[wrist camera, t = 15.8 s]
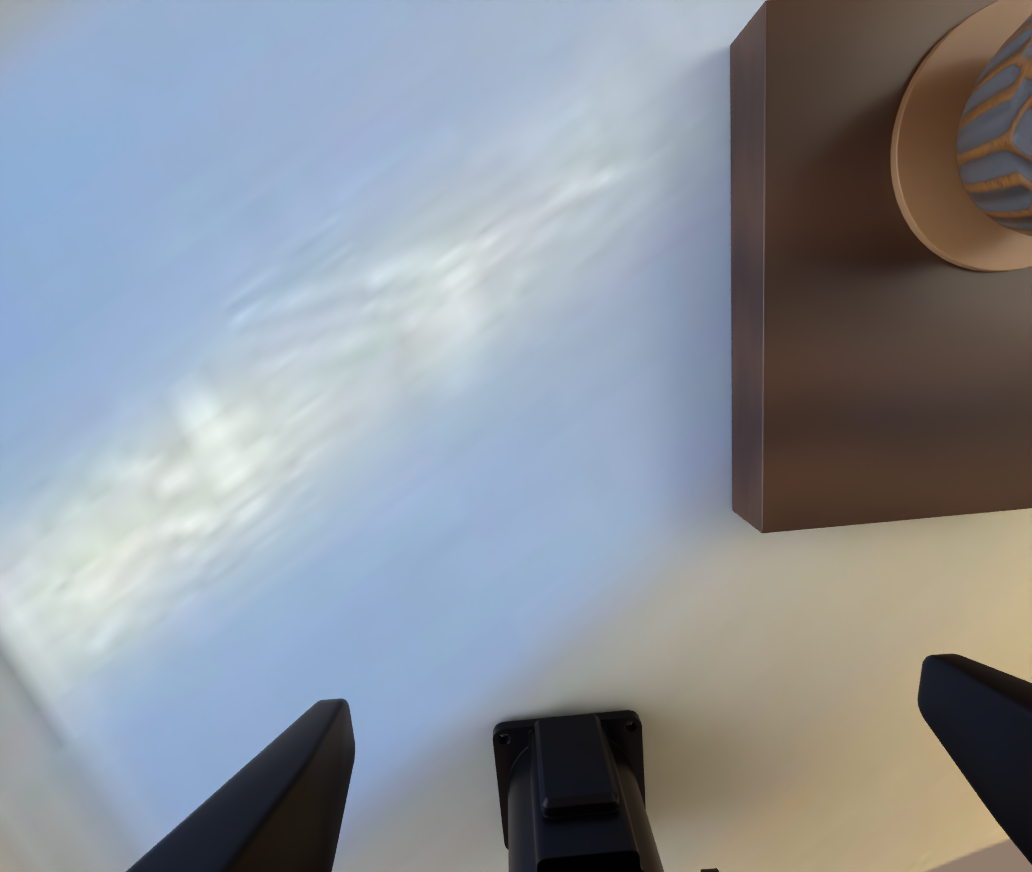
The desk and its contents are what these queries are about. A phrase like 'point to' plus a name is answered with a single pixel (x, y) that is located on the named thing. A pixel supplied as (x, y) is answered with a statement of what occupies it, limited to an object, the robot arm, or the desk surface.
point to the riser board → (871, 271)
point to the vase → (1001, 135)
